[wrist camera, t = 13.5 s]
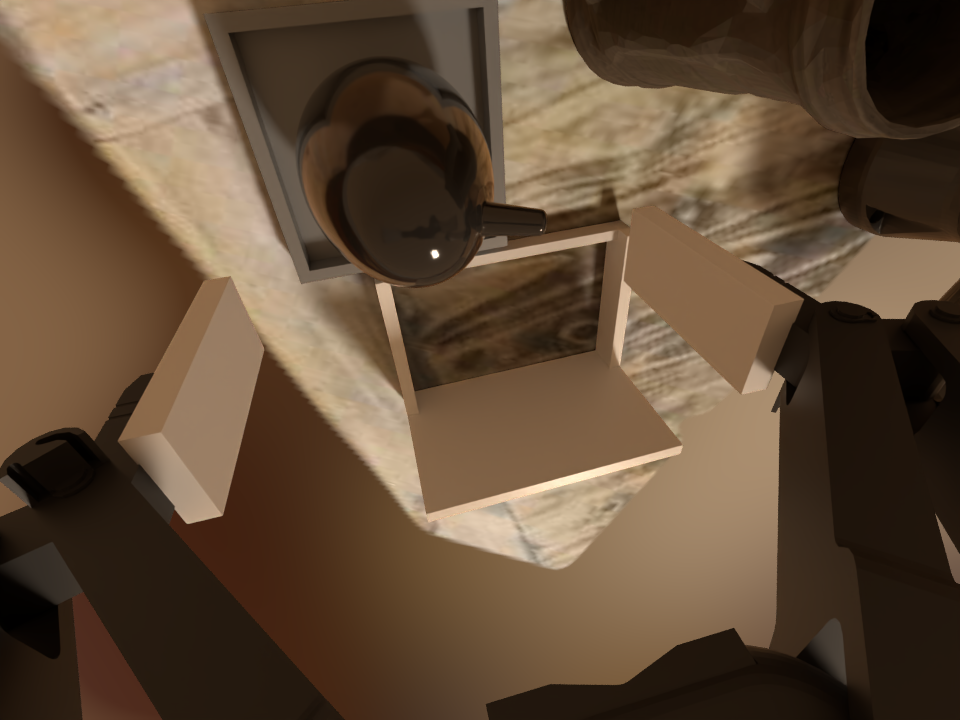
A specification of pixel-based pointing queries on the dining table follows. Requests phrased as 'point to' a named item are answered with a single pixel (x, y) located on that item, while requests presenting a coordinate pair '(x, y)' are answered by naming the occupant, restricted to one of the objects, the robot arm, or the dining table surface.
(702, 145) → the dining table surface
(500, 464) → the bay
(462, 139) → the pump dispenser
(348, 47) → the tray
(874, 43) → the beer stein
